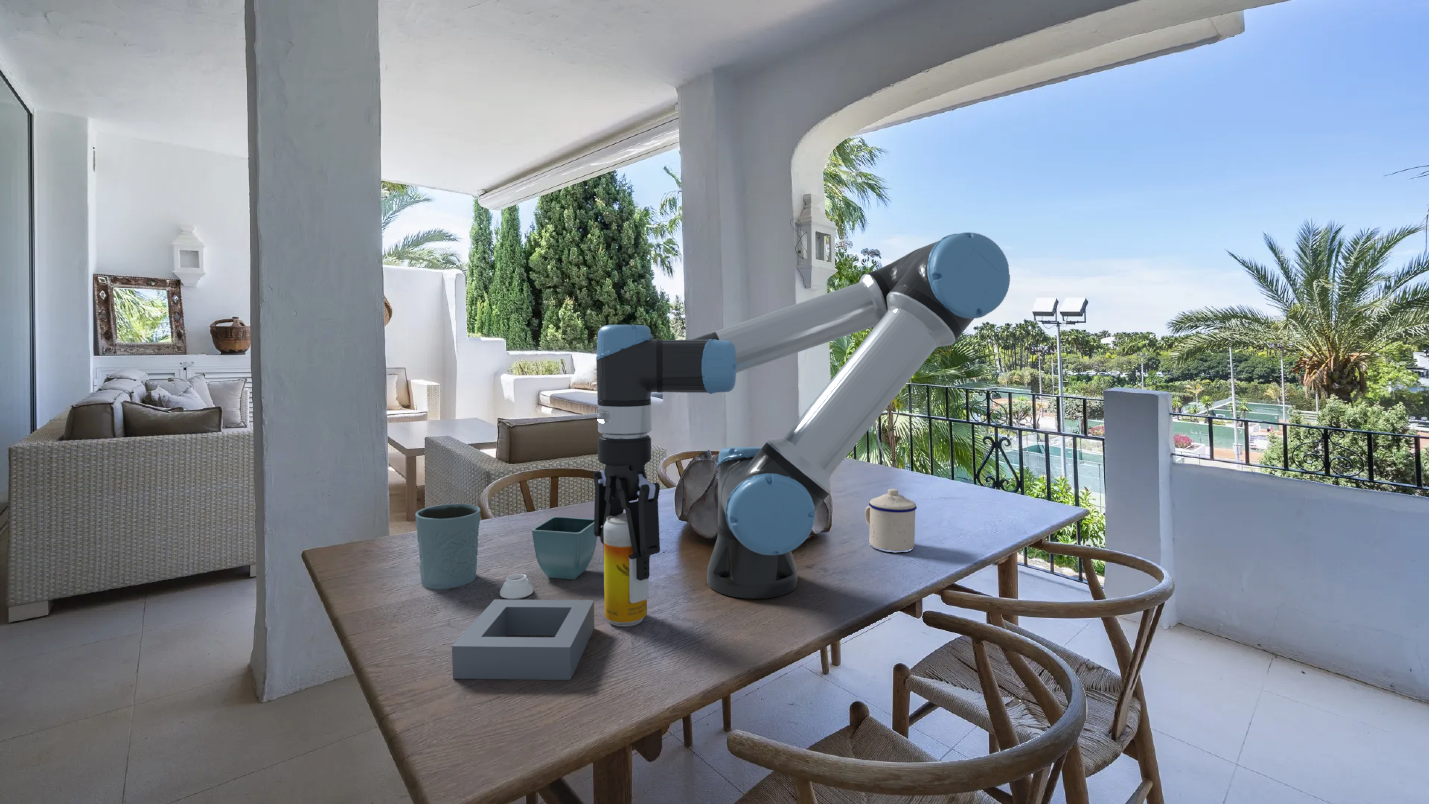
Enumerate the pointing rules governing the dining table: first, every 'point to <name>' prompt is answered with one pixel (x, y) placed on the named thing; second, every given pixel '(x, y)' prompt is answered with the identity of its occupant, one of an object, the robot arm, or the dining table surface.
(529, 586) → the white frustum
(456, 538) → the light blue cup
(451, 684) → the dining table surface
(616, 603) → the beer can
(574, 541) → the flower pot
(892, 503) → the teacup with lid
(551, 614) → the sleeve
